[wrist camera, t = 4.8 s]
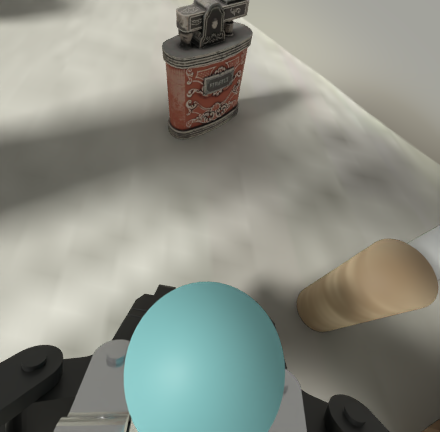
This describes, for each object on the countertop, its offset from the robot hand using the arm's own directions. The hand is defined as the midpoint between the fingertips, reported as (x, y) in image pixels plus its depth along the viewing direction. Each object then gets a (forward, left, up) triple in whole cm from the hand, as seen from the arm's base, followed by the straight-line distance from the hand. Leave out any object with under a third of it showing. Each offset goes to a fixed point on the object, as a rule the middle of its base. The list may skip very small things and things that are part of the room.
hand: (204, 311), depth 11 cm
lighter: (-18, +7, -6) cm, 20 cm away
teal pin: (+2, -1, -5) cm, 6 cm away
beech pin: (+2, +8, -5) cm, 10 cm away
